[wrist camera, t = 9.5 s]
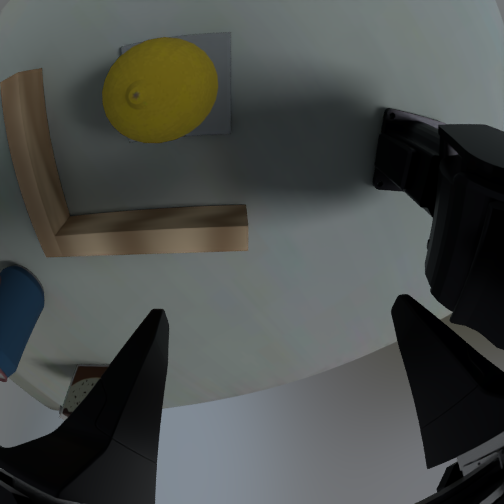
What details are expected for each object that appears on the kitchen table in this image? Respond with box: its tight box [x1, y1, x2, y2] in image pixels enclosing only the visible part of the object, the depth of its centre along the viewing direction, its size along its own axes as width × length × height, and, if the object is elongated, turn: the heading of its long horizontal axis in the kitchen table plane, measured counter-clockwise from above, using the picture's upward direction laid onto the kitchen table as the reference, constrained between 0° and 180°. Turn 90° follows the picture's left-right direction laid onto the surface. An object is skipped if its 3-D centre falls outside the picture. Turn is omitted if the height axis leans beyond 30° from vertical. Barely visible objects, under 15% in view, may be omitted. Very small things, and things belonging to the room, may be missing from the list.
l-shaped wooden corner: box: [0, 68, 248, 257], centre depth 15 cm, size 17×15×3 cm
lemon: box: [102, 37, 218, 143], centre depth 11 cm, size 6×6×8 cm
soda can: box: [0, 265, 44, 382], centre depth 19 cm, size 7×7×12 cm
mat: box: [121, 32, 231, 143], centre depth 14 cm, size 7×7×1 cm
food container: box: [59, 364, 109, 420], centre depth 32 cm, size 12×6×10 cm, turn 101°
